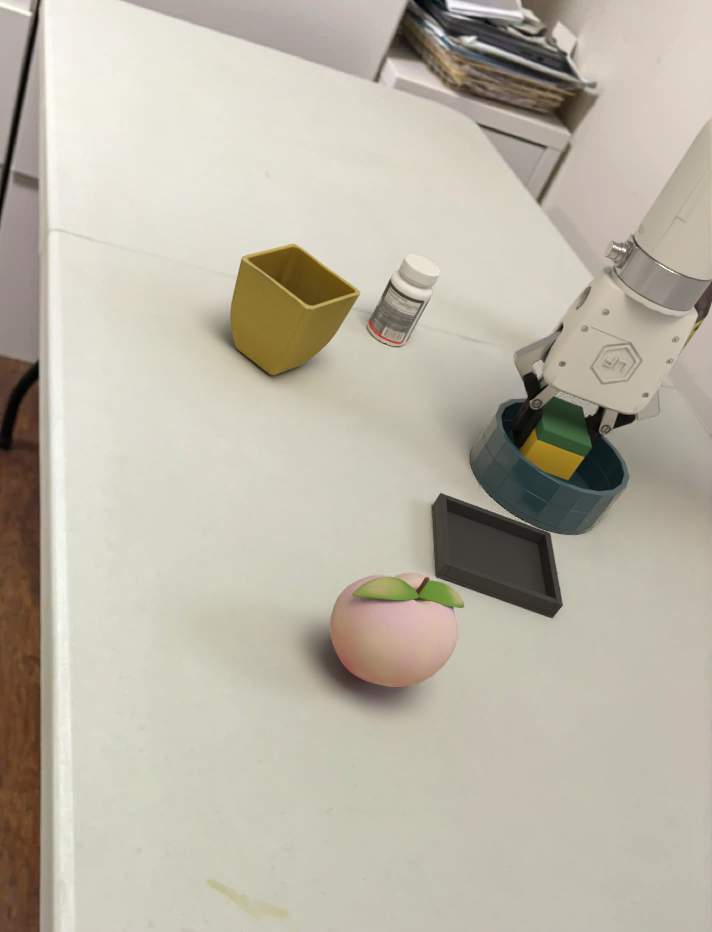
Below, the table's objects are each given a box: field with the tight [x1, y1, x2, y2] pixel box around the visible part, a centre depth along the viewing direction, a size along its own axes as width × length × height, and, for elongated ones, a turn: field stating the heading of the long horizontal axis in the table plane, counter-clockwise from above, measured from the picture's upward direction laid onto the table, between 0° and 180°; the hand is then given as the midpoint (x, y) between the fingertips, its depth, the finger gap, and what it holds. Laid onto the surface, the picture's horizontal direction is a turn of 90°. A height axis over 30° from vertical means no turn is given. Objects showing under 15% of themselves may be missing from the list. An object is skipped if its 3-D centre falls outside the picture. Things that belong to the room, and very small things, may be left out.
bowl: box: [469, 397, 630, 536], centre depth 107 cm, size 14×14×5 cm
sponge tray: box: [431, 492, 564, 619], centre depth 97 cm, size 11×10×2 cm
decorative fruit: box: [329, 572, 465, 688], centre depth 78 cm, size 9×8×10 cm
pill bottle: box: [367, 253, 441, 347], centre depth 116 cm, size 5×5×8 cm
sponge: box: [518, 395, 592, 480], centre depth 104 cm, size 5×7×4 cm
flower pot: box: [229, 243, 361, 376], centre depth 104 cm, size 9×9×9 cm
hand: (544, 446), depth 105 cm, fingers closed on sponge, 5 cm apart
